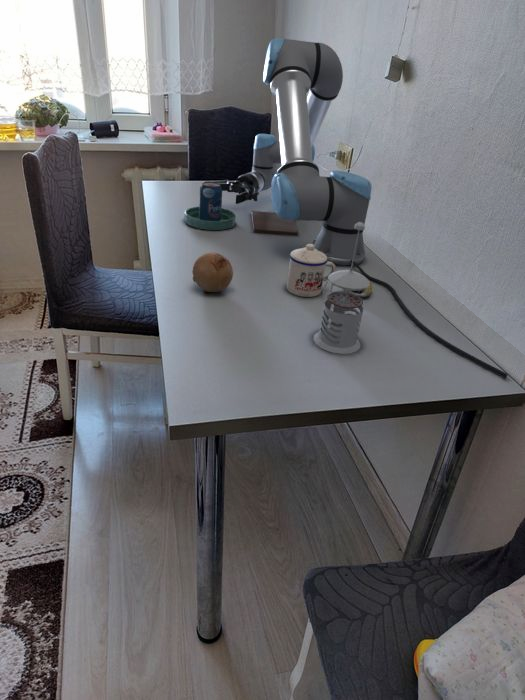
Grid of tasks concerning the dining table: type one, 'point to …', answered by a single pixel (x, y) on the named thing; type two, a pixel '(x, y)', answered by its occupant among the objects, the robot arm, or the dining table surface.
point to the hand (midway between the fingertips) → (218, 195)
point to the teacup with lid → (307, 271)
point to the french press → (342, 310)
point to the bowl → (194, 221)
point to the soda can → (210, 201)
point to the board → (272, 224)
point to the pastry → (362, 291)
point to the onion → (212, 272)
